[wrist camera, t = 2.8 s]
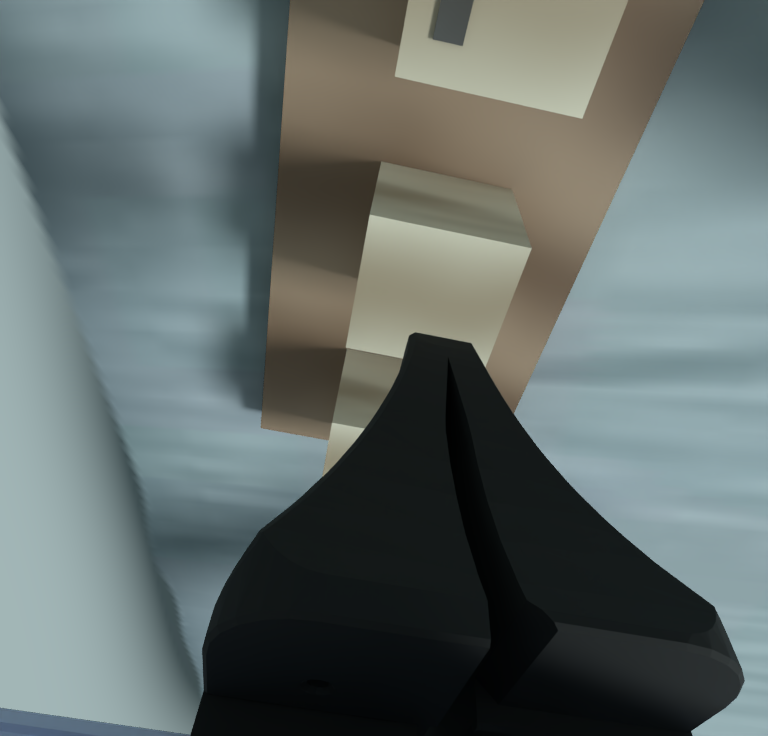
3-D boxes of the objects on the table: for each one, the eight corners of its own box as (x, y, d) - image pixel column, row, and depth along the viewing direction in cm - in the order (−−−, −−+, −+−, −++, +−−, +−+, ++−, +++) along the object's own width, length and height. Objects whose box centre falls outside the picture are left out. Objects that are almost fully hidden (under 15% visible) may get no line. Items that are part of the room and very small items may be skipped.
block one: (426, 441, 23) (426, 522, 20) (333, 424, 23) (317, 503, 20) (451, 368, 21) (455, 447, 17) (347, 348, 20) (331, 425, 17)
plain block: (473, 301, 19) (482, 373, 16) (359, 278, 19) (345, 347, 15) (512, 189, 16) (531, 248, 13) (381, 161, 16) (369, 214, 13)
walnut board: (486, 452, 25) (488, 468, 24) (266, 412, 24) (260, 428, 23) (748, -139, 12) (770, -144, 12) (316, -252, 12) (307, -265, 11)
